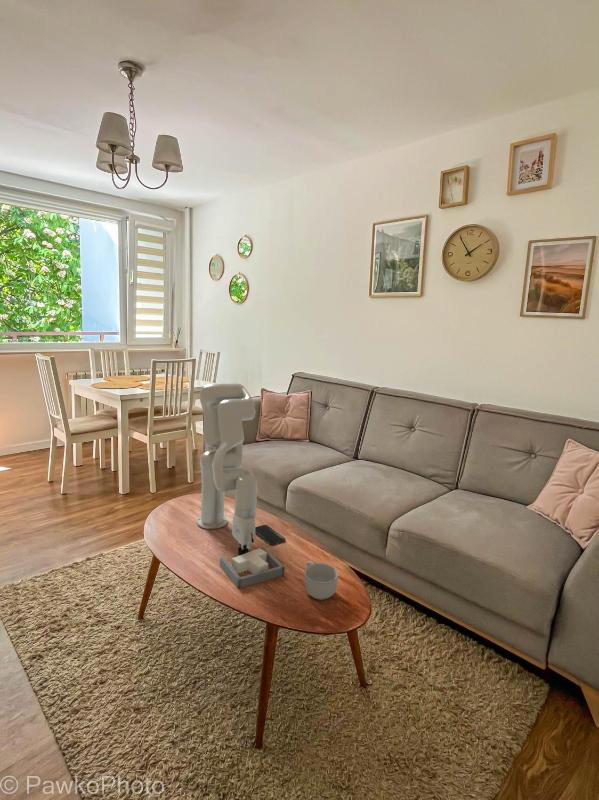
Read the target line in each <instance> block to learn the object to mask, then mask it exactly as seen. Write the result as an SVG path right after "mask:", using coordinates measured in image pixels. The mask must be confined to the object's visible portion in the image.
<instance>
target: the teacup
mask: <svg viewBox="0 0 599 800" xmlns="http://www.w3.org/2000/svg"><path fill="white" fill-rule="evenodd" d="M338 577H339V572H338V569H337V568H336V567H334V565H331V564H329V563H324V562H318V563H317V562H315V563H314V561H313V560H308V561H307V562H306V567H305V569H304V588H305V592H306V593H307V595H309V596H310V597H312V598H314V599H316V600H320V601H321V600H322V601H323V600H327V599H328V598H331V597H333V596H334V595H335V594H336V592H337V588H338Z"/></svg>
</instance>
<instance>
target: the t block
mask: <svg viewBox="0 0 599 800" xmlns="http://www.w3.org/2000/svg"><path fill="white" fill-rule="evenodd" d="M266 557H267V553H266V552H265V551H263V550H262V549H261V547H259V548H257V549H256V548H255V549H254V550H251V551H248V553H245V554H243V555H240V556H238V555H237V556H235V557H232V559H231V561H232V562H231V567H232V568H233V569H234V570H235V571H236V573H237V574H238V575H239V573H240V574H242V573H245V572H247V571H248V572H250V573H251V574H254V573H257V572H261V571H265V570H268V569H269V563H268V562H267V561H266ZM244 571H245V572H244ZM241 572H242V573H241Z"/></svg>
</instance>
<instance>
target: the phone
mask: <svg viewBox="0 0 599 800" xmlns="http://www.w3.org/2000/svg"><path fill="white" fill-rule="evenodd" d="M255 534H256V535H255V536H257V537H258V538H259V537H260V538H259V539H260V540H262V541H263V540H264V541H265V542H264V541H263V542H264V543H266V544H267V545H268V544H269V546H270V545H272V546H276V545H278V544H277V543H279V544H282V543H284V541H285V542H286V537H284V536H283V535H281V534H280V533H279V532H277V531H276V530H275V529H273V528H272V527H270V526H269V525H267V524H262V525H259V526H255ZM281 542H282V543H281ZM275 544H276V545H275Z"/></svg>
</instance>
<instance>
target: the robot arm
mask: <svg viewBox="0 0 599 800" xmlns="http://www.w3.org/2000/svg"><path fill="white" fill-rule="evenodd" d="M199 402H200V405H201V408H202V411H203V441H204V444H205V446H206V447H209V448H216V449H211V450H207V451H205V452H203V453H202V454H201V455H200V458H199V464H200V471H201V473H200V474H201V496H200V497H201V500H200V503H201V505H200V506H201V507H200V516H199V517H198V518H197V520H196V524H197V526H199V527H200V528H203V529H206V530H214V529H220V528H223V527H225V526H226V525H227V523H228V518H227V516H225V497H226V496H225V494H226V493H225V492H230V491H235V493H234V495H235V496H234V498H235V499H234V514H233V518H232V519H233V520H232V528H231V535H232V537H234V539H235V540H236V541H237V546H238V549H237V550H238V552H237V553H238V554H237V556H240V555H243V554H245V553H248V552H249V549H252V548H253V544H254V543H255V541H256V535H255V527H256V515H257V500H258V499H257V497H258V495H257V494H258V479H257V477H256V476H255V475H254V474H253V472H252V470H251V469H250V468H247V467H243V460H244V459H243V458H244V456H243V455H244V454H243V452H244V451H243V450H244V447H243V445H244V443H243V442H244V441H245V434H244V433H245V432H244V427H243V421H252V420H253V419H255V416H256V413H257V412H256V405H255V402H254V400H253V398H252V396H251V395H250V393H249V392H248V390H247V388H246V387H245V386H244V385H243V384H240V383H211V384H210V383H209V384H208V383H207V384H205V385H203V386H202V387H201V389H200V391H199Z"/></svg>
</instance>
